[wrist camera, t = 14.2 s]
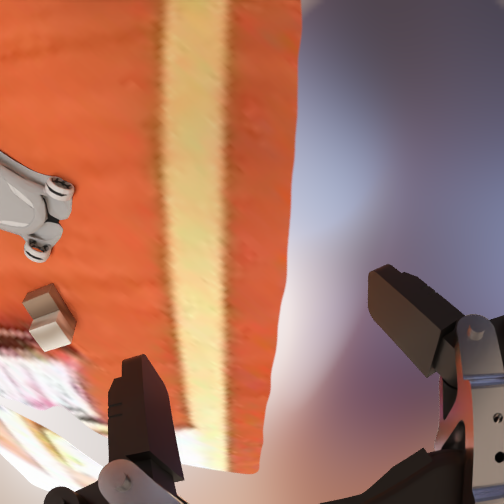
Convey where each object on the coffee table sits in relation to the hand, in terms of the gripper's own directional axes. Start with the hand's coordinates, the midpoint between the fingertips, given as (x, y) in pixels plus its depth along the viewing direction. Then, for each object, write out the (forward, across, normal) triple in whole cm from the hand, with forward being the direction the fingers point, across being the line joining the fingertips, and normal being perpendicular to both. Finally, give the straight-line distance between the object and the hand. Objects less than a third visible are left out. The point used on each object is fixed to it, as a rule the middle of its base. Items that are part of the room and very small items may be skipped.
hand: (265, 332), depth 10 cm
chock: (+30, +24, +12) cm, 41 cm away
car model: (+30, +24, -7) cm, 40 cm away
